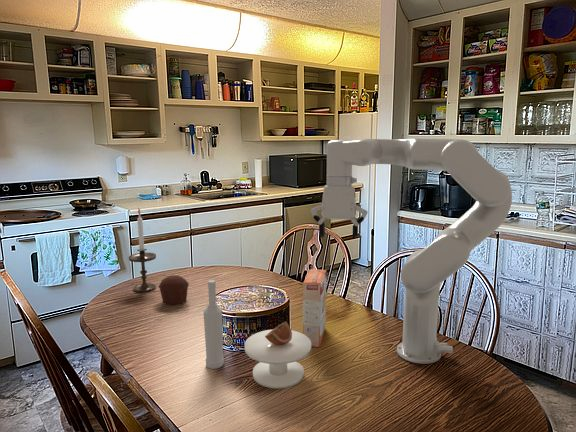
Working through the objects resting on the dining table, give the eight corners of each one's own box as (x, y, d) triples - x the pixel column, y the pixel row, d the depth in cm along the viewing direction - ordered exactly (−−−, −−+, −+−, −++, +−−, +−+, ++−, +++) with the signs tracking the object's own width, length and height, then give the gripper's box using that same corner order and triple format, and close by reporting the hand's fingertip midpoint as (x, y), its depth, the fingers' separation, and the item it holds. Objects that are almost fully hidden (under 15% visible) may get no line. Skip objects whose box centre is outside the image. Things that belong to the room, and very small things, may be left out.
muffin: (195, 299, 177) (194, 275, 175) (175, 309, 168) (173, 283, 166) (174, 293, 183) (173, 270, 182) (153, 302, 174) (151, 278, 172)
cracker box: (321, 348, 137) (321, 283, 133) (301, 346, 138) (301, 282, 134) (326, 328, 150) (327, 269, 147) (308, 327, 152) (309, 268, 148)
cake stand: (316, 361, 129) (316, 332, 128) (304, 397, 112) (304, 364, 110) (256, 354, 133) (256, 326, 132) (236, 388, 116) (235, 356, 114)
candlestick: (153, 293, 184) (147, 209, 178) (127, 293, 184) (120, 209, 178) (161, 284, 195) (156, 205, 188) (136, 284, 195) (130, 205, 188)
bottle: (208, 371, 125) (205, 285, 120) (203, 362, 129) (199, 279, 124) (226, 366, 127) (223, 282, 122) (220, 358, 131) (217, 277, 127)
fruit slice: (281, 353, 116) (281, 335, 115) (259, 347, 119) (259, 329, 118) (296, 339, 123) (296, 322, 122) (275, 334, 126) (274, 318, 125)
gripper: (369, 180, 136) (367, 235, 139) (312, 179, 140) (312, 233, 143) (367, 183, 129) (366, 241, 132) (308, 182, 132) (308, 238, 136)
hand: (338, 237), depth 137 cm, fingers open, 9 cm apart
